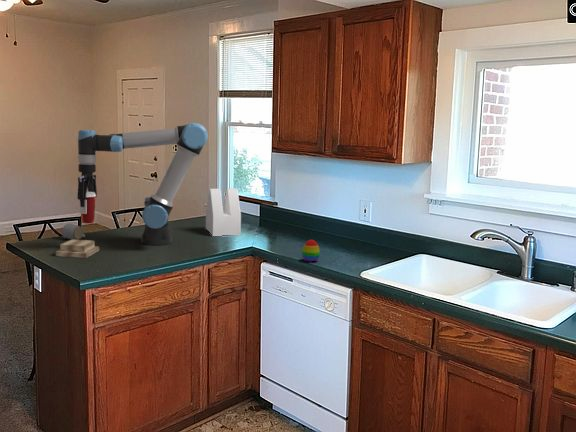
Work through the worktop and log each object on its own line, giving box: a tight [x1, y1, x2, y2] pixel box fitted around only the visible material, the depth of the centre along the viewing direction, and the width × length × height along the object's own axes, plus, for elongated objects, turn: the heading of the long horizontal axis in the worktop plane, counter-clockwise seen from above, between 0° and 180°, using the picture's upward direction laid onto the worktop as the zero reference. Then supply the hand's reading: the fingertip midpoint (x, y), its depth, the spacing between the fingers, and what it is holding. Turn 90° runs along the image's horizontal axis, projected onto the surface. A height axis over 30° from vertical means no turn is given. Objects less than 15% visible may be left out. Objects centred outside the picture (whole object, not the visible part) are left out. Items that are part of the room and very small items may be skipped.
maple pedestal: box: [55, 239, 100, 259], centre depth 255 cm, size 14×14×5 cm
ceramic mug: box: [61, 223, 86, 240], centre depth 284 cm, size 11×8×8 cm
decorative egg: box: [301, 239, 321, 262], centre depth 259 cm, size 8×8×10 cm
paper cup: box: [80, 191, 96, 224], centre depth 263 cm, size 8×8×14 cm
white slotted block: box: [205, 187, 242, 237], centre depth 312 cm, size 19×15×25 cm
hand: (87, 212), depth 263 cm, fingers closed on paper cup, 8 cm apart
